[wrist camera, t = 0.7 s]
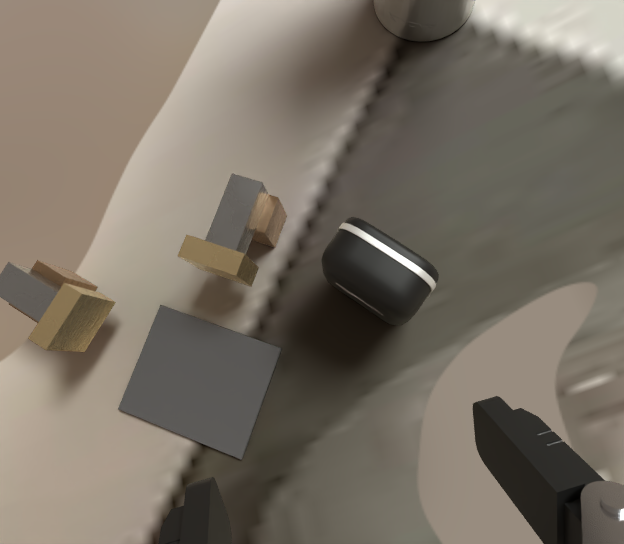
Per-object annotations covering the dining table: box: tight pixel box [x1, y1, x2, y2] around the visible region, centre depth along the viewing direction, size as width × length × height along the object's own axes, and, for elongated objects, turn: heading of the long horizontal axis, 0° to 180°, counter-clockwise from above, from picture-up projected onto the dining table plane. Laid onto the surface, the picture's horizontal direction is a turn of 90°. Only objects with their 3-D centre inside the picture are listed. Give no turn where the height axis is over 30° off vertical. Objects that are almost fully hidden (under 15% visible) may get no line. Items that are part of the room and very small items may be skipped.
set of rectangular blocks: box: [0, 174, 287, 352], centre depth 35 cm, size 8×23×8 cm, turn 111°
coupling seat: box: [118, 305, 282, 460], centre depth 36 cm, size 9×11×1 cm
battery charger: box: [322, 217, 439, 325], centre depth 31 cm, size 7×4×11 cm, turn 54°
